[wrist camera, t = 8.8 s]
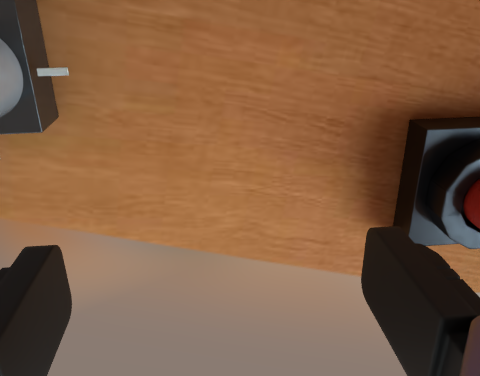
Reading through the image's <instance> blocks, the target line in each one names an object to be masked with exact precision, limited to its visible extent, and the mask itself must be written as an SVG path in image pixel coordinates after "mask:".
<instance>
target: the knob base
mask: <svg viewBox="0 0 480 376" xmlns="http://www.w3.org/2000/svg"><path fill="white" fill-rule="evenodd" d="M0 39H1V40H2V41H3V42H4V43H6V44H7V46H8V47H9V48H10V49H11V50H12V52H13V53H14V55H15V56H16V58H17V60H18V62H19V64H20V67H21V70H22V75H23V90H22V94H21V97H20V99H19V101H18V103H17V104H16V106H15V107H14V108H13V109H12V110H11V111H10V112H8V113H7V114H5V115H4V116H2V117H1V118H0V134H19V133H42V132H43V131H44V130H45V129H46V128H47V127H49V126H50V125H51V124H52V123H53V122H54V121H55V120H56V119H57V118H58V111H57V106H56V101H55V96H54V91H53V85H52V80H51V76H62V75H69V72H68V67H57V68H49V65H48V60H47V54H46V49H45V44H44V39H43V34H42V29H41V23H40V18H39V13H38V8H37V3H36V0H0Z"/></svg>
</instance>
